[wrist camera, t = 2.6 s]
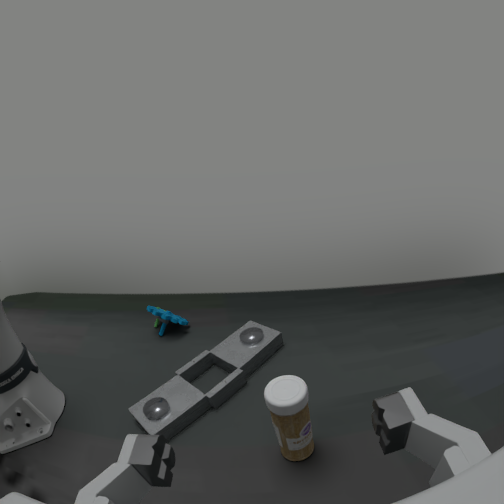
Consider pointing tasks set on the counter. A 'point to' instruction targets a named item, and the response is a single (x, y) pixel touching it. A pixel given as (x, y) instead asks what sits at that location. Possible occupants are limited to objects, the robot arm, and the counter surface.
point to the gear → (165, 318)
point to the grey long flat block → (179, 388)
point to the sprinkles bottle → (290, 416)
